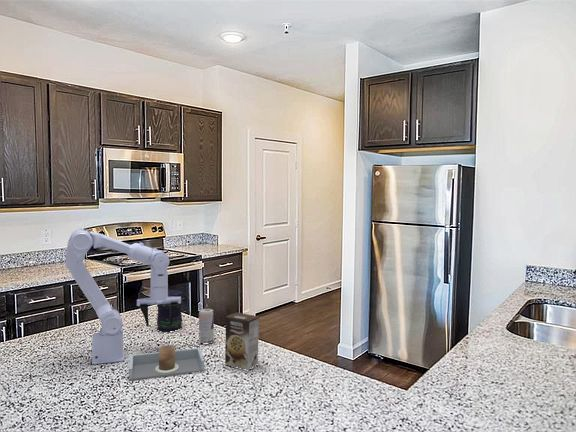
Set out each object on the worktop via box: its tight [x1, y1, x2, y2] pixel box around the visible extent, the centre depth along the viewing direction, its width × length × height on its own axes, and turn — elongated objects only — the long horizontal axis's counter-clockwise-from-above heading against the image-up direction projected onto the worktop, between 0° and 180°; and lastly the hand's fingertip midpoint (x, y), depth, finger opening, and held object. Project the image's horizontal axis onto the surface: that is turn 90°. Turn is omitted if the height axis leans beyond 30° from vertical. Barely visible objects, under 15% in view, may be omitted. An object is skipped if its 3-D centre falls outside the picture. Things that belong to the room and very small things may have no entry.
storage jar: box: [156, 289, 183, 333], centre depth 168 cm, size 10×10×15 cm
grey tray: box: [128, 347, 205, 382], centre depth 130 cm, size 22×11×4 cm, turn 109°
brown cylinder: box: [158, 345, 176, 371], centre depth 129 cm, size 5×5×6 cm
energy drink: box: [198, 308, 215, 344], centre depth 153 cm, size 5×5×12 cm
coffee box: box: [224, 312, 260, 371], centre depth 133 cm, size 9×6×16 cm
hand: (159, 324), depth 144 cm, fingers open, 7 cm apart
